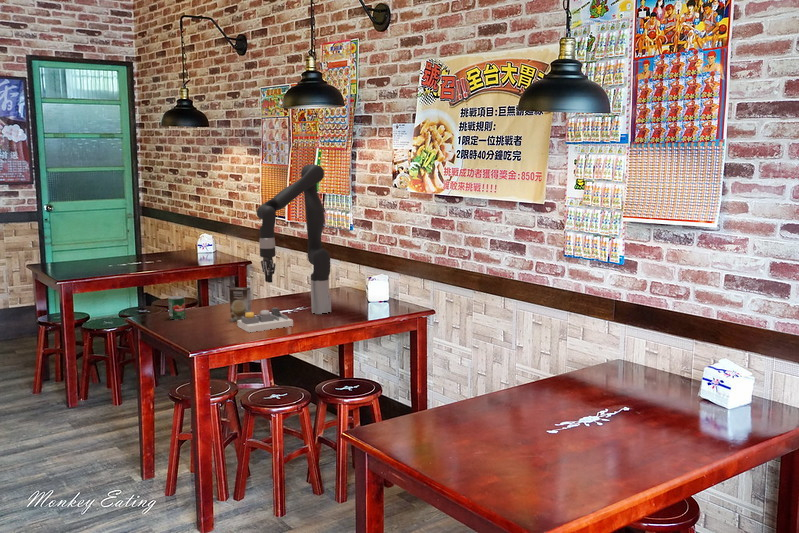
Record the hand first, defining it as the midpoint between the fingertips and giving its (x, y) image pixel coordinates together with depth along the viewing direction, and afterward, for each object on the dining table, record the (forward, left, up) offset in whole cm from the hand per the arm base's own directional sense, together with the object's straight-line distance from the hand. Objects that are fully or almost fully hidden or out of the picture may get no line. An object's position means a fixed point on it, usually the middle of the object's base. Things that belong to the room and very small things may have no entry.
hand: (268, 281), depth 363 cm
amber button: (+14, +11, -15) cm, 23 cm away
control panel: (+7, +11, -19) cm, 23 cm away
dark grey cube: (0, +7, -16) cm, 17 cm away
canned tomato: (+37, -30, -19) cm, 51 cm away
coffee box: (+12, -8, -19) cm, 24 cm away
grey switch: (+7, +11, -15) cm, 20 cm away
